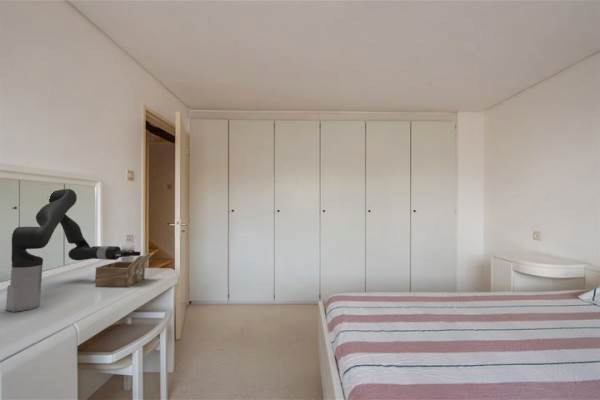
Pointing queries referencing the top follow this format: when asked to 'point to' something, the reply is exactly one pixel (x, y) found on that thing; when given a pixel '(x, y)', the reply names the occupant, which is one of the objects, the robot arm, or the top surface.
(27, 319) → the top surface
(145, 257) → the near flap
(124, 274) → the wooden box
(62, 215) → the robot arm
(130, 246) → the water bottle
